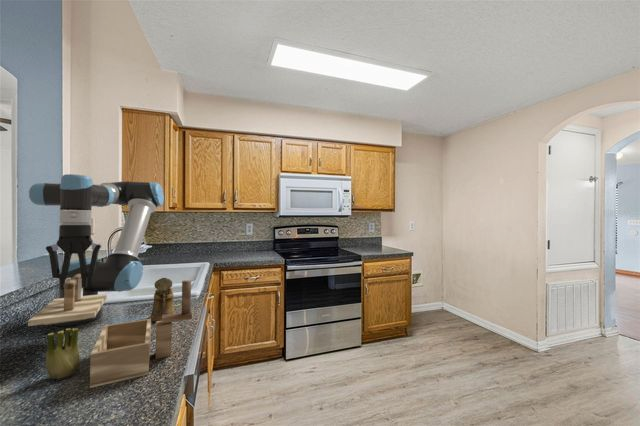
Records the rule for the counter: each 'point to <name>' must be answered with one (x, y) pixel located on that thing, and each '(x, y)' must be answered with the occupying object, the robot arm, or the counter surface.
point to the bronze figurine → (162, 299)
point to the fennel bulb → (62, 354)
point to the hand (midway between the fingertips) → (73, 298)
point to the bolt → (186, 305)
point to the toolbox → (127, 351)
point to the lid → (69, 306)
